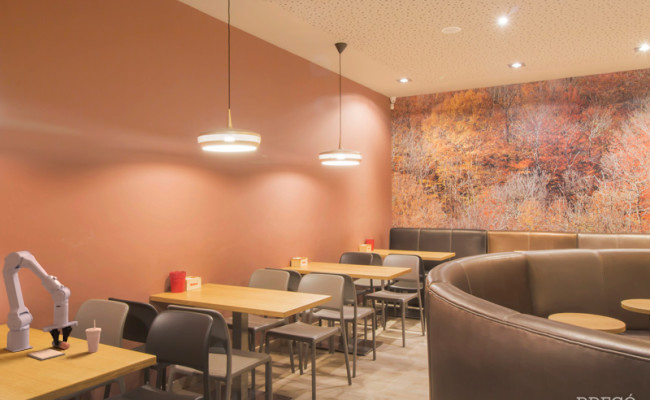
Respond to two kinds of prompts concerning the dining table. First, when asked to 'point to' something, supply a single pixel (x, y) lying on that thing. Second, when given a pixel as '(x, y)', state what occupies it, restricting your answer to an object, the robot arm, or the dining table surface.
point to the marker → (62, 345)
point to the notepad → (45, 354)
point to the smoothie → (93, 338)
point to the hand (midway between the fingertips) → (60, 344)
